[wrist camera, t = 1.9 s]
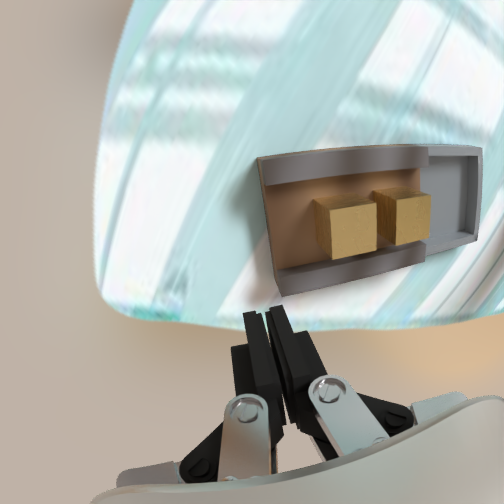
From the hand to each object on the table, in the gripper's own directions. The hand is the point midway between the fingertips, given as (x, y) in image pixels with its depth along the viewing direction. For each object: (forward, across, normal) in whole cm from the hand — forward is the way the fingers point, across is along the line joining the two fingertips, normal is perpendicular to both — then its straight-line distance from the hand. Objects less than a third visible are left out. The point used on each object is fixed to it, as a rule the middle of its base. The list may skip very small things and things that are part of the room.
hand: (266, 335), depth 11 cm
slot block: (+15, -11, 0) cm, 19 cm away
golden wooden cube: (+13, -9, 0) cm, 16 cm away
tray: (+15, -24, 0) cm, 28 cm away
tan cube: (+13, -15, 0) cm, 20 cm away
